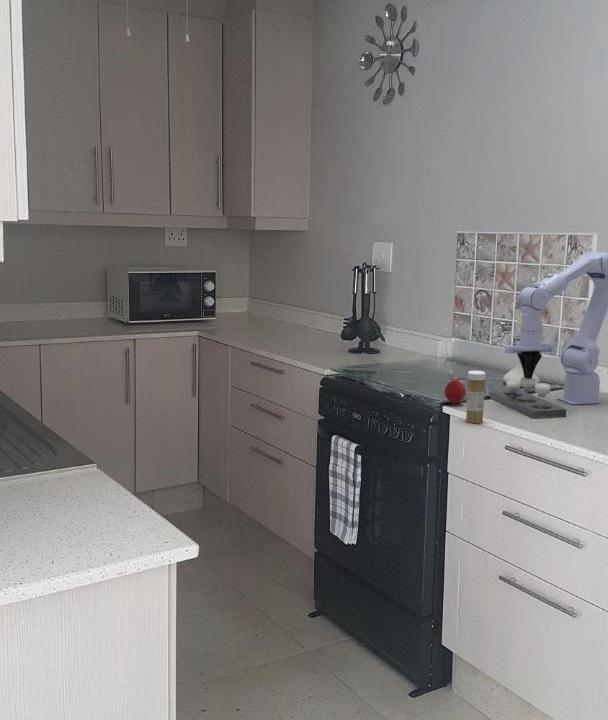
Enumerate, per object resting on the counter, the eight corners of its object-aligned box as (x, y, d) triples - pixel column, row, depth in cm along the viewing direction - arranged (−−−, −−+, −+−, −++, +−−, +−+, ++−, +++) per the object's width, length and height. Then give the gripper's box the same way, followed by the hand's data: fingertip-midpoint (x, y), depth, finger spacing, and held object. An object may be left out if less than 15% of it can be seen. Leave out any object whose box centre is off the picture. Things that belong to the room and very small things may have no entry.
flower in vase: (495, 383, 269) (499, 306, 264) (519, 379, 275) (523, 304, 271) (526, 391, 258) (531, 310, 254) (551, 386, 264) (556, 308, 260)
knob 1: (515, 391, 247) (516, 380, 246) (522, 394, 243) (523, 383, 243) (503, 392, 246) (504, 380, 245) (510, 395, 242) (510, 383, 242)
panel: (520, 396, 251) (520, 389, 250) (565, 416, 227) (566, 409, 226) (489, 397, 248) (490, 391, 248) (532, 418, 224) (533, 411, 224)
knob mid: (529, 388, 239) (530, 377, 238) (537, 391, 235) (537, 379, 235) (517, 389, 238) (518, 377, 237) (524, 392, 234) (525, 380, 234)
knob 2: (544, 394, 231) (545, 382, 231) (552, 397, 228) (553, 385, 227) (531, 395, 230) (532, 383, 230) (539, 398, 227) (539, 386, 226)
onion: (458, 407, 235) (460, 380, 234) (440, 404, 239) (441, 377, 237) (468, 404, 240) (469, 376, 238) (450, 401, 243) (451, 374, 242)
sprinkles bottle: (477, 418, 223) (479, 369, 221) (486, 423, 219) (489, 372, 217) (462, 420, 222) (464, 370, 219) (471, 424, 218) (473, 373, 215)
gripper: (546, 327, 239) (543, 374, 242) (500, 328, 235) (497, 375, 238) (559, 331, 232) (556, 378, 235) (512, 332, 229) (510, 380, 231)
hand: (527, 377), depth 236 cm, fingers closed
